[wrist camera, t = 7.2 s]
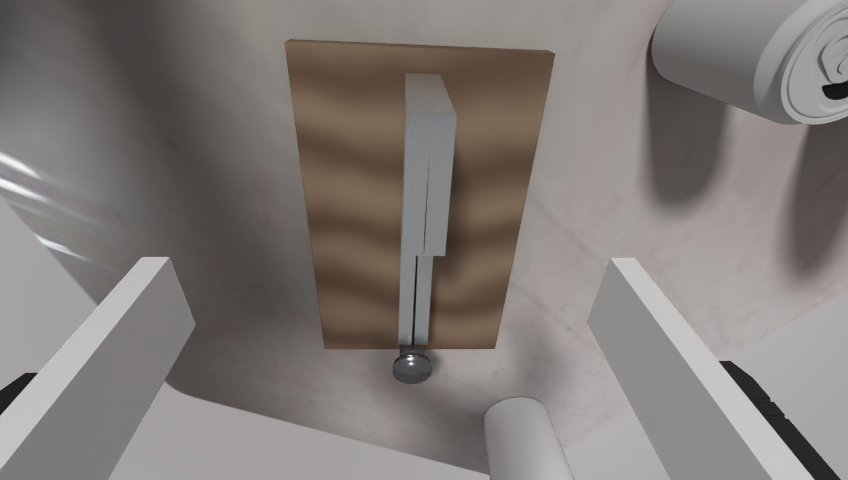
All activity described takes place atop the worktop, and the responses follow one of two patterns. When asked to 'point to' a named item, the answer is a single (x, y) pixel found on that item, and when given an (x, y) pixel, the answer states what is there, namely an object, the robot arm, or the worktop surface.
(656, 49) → the beverage can
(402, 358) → the tongs hinge post
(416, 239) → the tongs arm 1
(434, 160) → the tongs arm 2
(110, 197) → the worktop surface
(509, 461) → the candle holder
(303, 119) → the walnut board
